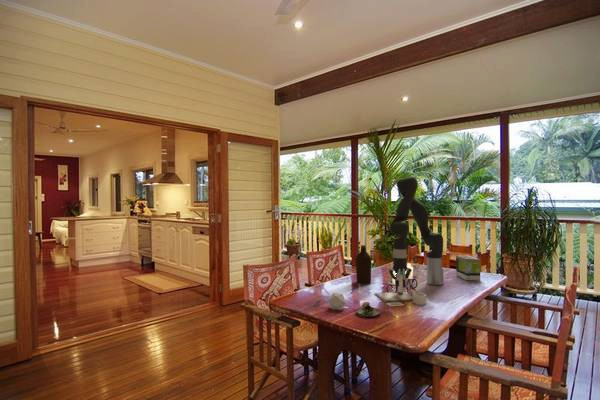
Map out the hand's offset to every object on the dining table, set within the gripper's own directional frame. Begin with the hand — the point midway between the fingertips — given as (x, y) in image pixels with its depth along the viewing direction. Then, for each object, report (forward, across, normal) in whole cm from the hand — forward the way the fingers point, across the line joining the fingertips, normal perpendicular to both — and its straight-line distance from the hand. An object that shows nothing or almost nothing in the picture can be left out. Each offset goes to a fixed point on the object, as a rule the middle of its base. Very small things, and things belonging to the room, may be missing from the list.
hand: (400, 286), depth 189 cm
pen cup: (+6, -4, +14) cm, 15 cm away
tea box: (+6, -63, -28) cm, 70 cm away
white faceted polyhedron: (+6, +42, +14) cm, 44 cm away
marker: (+5, 0, 0) cm, 5 cm away
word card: (+6, +10, +14) cm, 18 cm away
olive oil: (+6, +11, -32) cm, 34 cm away
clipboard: (+6, +4, +2) cm, 7 cm away
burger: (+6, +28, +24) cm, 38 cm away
